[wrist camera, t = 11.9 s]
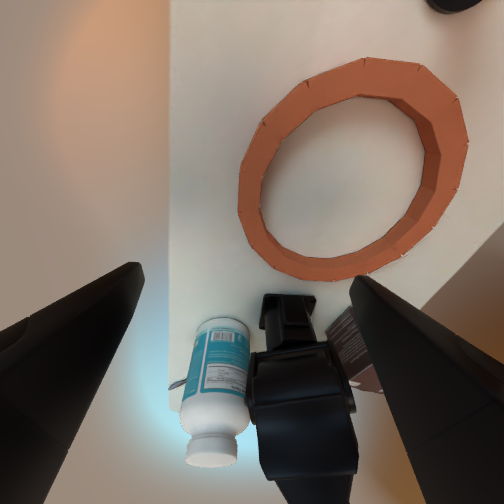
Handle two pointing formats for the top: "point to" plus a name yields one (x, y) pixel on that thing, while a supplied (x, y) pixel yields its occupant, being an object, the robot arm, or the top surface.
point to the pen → (177, 384)
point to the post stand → (452, 5)
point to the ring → (434, 173)
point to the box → (353, 353)
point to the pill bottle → (216, 393)
